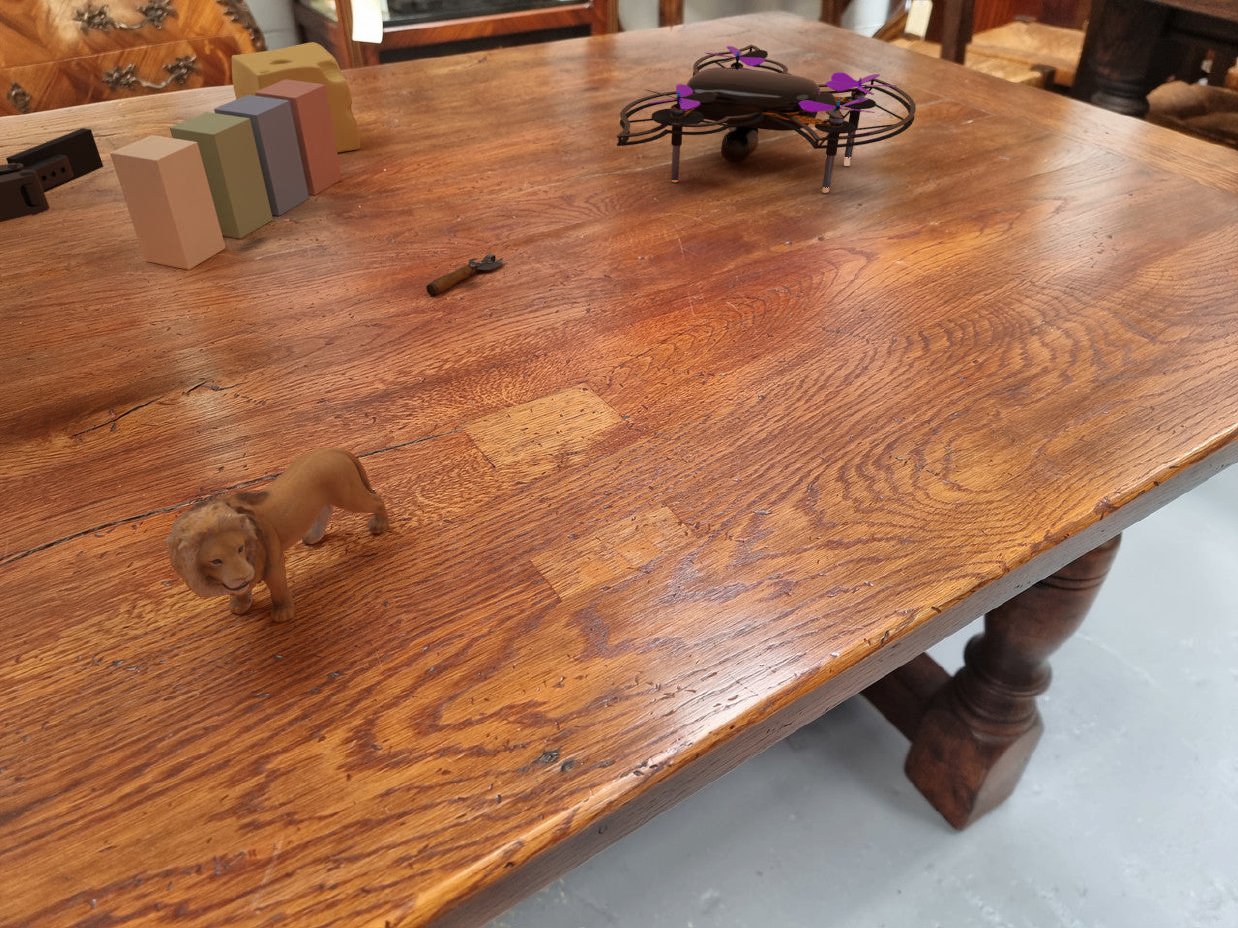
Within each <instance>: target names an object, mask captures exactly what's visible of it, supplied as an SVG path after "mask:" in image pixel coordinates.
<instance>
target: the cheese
mask: <svg viewBox="0 0 1238 928" xmlns="http://www.w3.org/2000/svg"><path fill="white" fill-rule="evenodd" d="M338 63H339V62H338V61H337V59H336V58H335V57H334V55H333V54H332V53H330V52H329V51H328V50H327V49H325V47H324V46H322V45H321V44H319V43H317V42H313V41H312V42H306V43H301V44H297V45H292V46H288V47H283V48H282V47H281V48H277V49H271V50H270V49H269V50H265V51H258V52H257V51H256V52H248V53H241V54H240V53H239V54H233V55H232V56H231V78H232V86H233V92H234V95H235V100H236V99H239V98H241V97H244V96H246V95H253V96H255V92H256V91H258V90H261V89H263V88H266V87H268V86H270V85H273V84H275V83H278V82H280V81H282V80H285V79H287V80H294V81H302V82H310V83H317V84H325V85H326V91H327V97H328V102H329V108H330V114H331V119H332V125H333V131H334V136H335V142H336V148H337V153H343V152H350V151H351V152H352V151H356V150H360V147H361V132H360V128H359V124H358V121H357V119H356V118H355V116H354V112H353V109H352V104H353V98H352V93H351V89H350V86H349V83H348V82H347V79H346V78H345V76H343V74H342V70H341V68H340V66H339V64H338Z"/></svg>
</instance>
